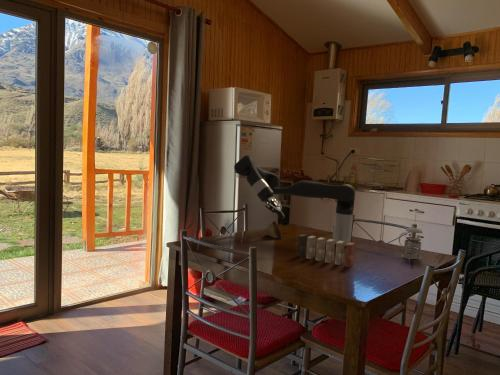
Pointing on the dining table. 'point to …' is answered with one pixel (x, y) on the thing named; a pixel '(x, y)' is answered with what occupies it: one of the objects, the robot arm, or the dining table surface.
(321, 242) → the domino
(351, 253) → the domino
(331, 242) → the domino
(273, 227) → the rock
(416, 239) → the french press
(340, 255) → the domino
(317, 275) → the dining table surface
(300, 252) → the domino
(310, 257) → the domino
